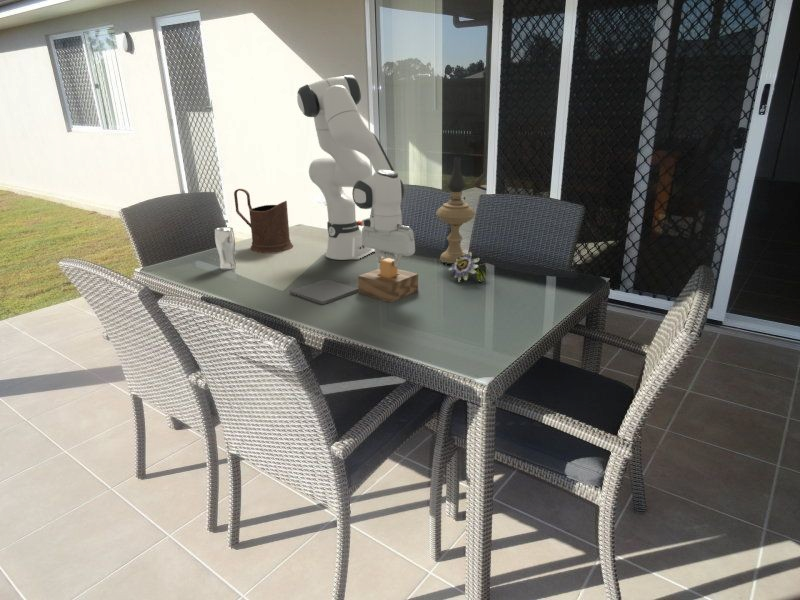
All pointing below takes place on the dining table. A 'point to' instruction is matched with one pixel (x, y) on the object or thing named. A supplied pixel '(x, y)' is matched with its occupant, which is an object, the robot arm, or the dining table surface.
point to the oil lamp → (455, 214)
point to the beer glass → (225, 247)
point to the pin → (387, 268)
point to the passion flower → (467, 267)
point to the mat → (324, 291)
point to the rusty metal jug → (267, 226)
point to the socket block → (388, 285)
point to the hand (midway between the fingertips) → (388, 264)
